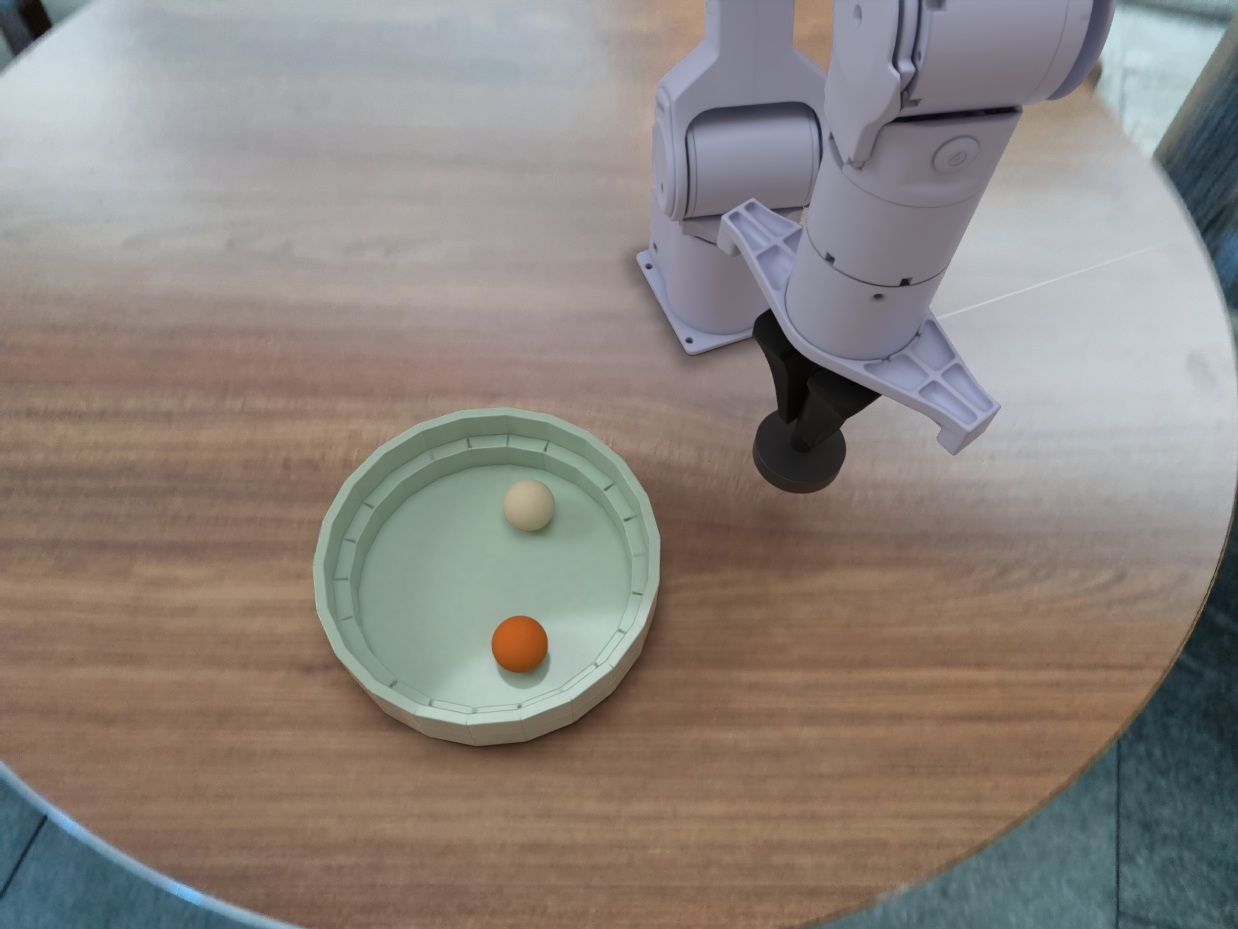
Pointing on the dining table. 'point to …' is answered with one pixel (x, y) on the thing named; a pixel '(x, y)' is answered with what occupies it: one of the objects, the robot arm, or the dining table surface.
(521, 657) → the orange ball
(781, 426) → the black peg stand
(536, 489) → the beige ball
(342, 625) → the bowl
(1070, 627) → the dining table surface
